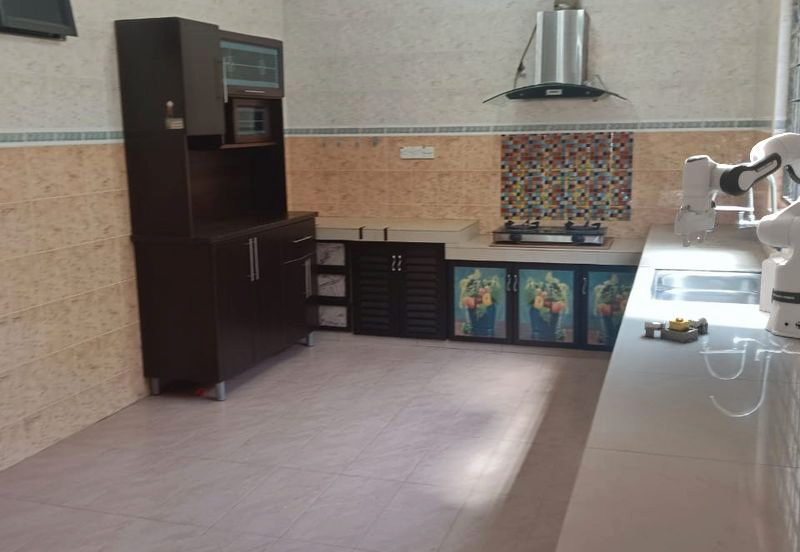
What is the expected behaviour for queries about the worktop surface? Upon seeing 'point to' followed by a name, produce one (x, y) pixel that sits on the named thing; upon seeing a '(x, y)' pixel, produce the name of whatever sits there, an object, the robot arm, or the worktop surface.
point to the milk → (768, 280)
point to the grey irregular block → (699, 325)
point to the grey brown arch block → (653, 328)
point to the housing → (679, 335)
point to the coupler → (679, 325)
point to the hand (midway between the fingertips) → (693, 244)
